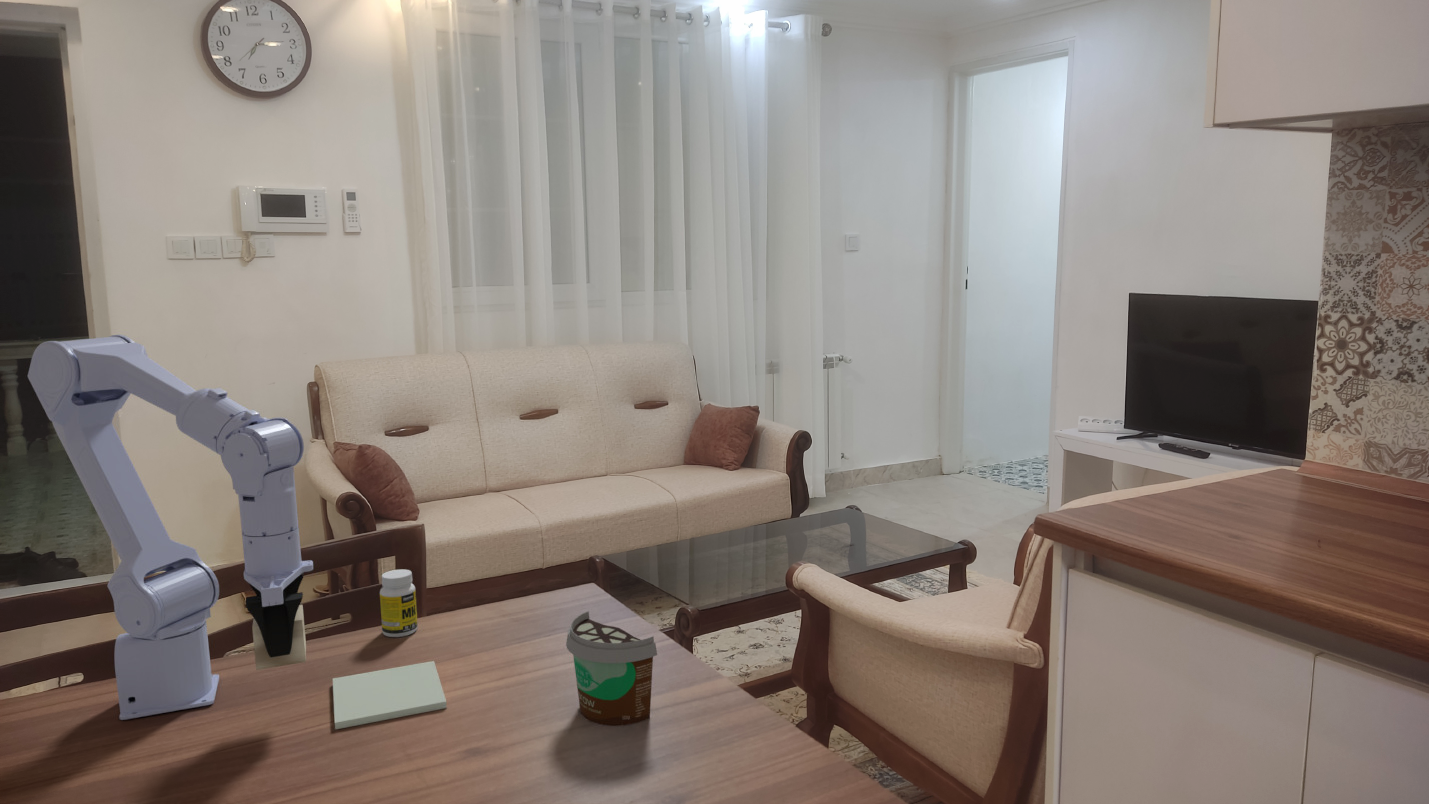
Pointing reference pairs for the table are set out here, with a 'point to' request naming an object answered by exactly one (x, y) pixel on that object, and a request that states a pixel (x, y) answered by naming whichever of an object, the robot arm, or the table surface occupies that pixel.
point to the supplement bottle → (398, 603)
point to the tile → (387, 694)
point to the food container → (611, 672)
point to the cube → (293, 658)
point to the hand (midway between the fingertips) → (280, 645)
